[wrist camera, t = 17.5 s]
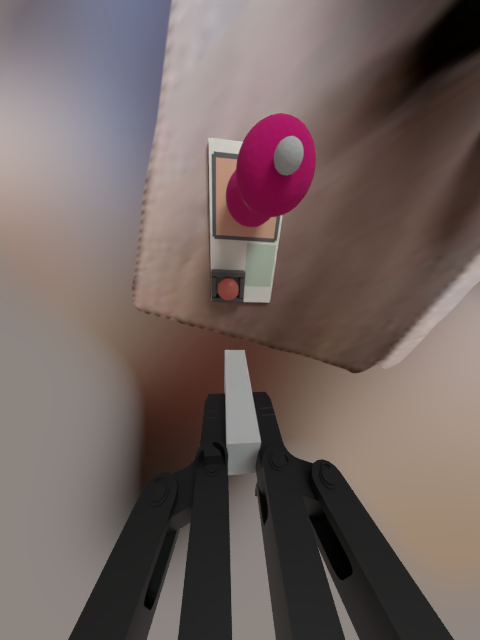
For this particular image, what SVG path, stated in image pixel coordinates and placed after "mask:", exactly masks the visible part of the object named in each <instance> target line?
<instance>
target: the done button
mask: <svg viewBox="0 0 480 640" xmlns="http://www.w3.org/2000/svg"><path fill="white" fill-rule="evenodd" d="M238 292H239V289H238V285H237V282H236V281H235V279H233V278H231V277H225V278H223V279H221V280H220V282H219V284H218V294H219V296H220V297H221V298H222V299H224V300H232V299H234V298H235V297H236V296H237V295H238Z"/></svg>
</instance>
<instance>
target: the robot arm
mask: <svg viewBox="0 0 480 640" xmlns="http://www.w3.org/2000/svg"><path fill="white" fill-rule="evenodd" d="M224 372H225V373H224V390H225V391H224V394H209V395H208V397H207V399H206V401H205V405H204V416H203V424H202V434H201V444H200V447H199V449H198V451H197V454H196V459H195V460H194V461H193V462H192V463H191V464H190V465H189V466H187V467H186V468H184V469H182V470H180V471H178V472H175V473H173V474H171V473H169V472H161V473H159V474H156V475H154V476H153V477H152V478H151V479H150V480H149V481H148V482H147V484H146V485H145V486H144V488H143V490H142V492H141V494H140V496H139V498H138V500H137V502H136V504H135V506H134V508H133V510H132V512H131V514H130V516H129V518H128V520H127V522H126V524H125V526H124V528H123V530H122V532H121V534H120V536H119V538H118V540H117V542H116V544H115V547H114V548H113V550H112V552H111V554H110V556H109V558H108V560H107V563H106V564H105V566H104V569H103V570H102V572H101V575H100V577H99V579H98V581H97V583H96V585H95V587H94V589H93V591H92V593H91V595H90V597H89V599H88V601H87V603H86V605H85V607H84V609H83V611H82V613H81V615H80V617H79V619H78V621H77V623H76V625H75V627H74V629H73V631H72V633H71V635H70V637H69V639H68V640H147V636H148V633H149V630H150V626H151V623H152V619H153V616H154V613H155V610H156V606H157V603H158V600H159V597H160V593H161V590H162V587H163V583H164V580H165V576H166V573H167V570H168V567H169V563H170V560H171V557H172V554H173V550H174V547H175V544H176V540H177V537H178V534H179V530H180V528H182V527H183V526H185V525H187V524H188V523H190V522H191V524H190V533H189V543H188V551H187V561H186V570H185V579H184V588H183V598H182V607H181V616H180V626H179V635H178V640H232V617H231V576H230V537H229V535H230V533H229V491H228V475H235V474H247V473H255V470H256V473H257V484H256V489H255V496H258V503H259V511H260V519H261V526H262V532H263V541H264V550H265V557H266V565H267V573H268V581H269V588H270V596H271V603H272V612H273V620H274V627H275V634H276V640H345V637H344V634H343V631H342V627H341V624H340V621H339V617H338V614H337V610H336V607H335V604H334V600H333V597H332V594H331V590H330V587H329V583H328V580H327V577H326V573H325V570H324V567H323V563H322V560H321V557H320V553H321V555H322V557H323V559H324V562H325V564H326V566H327V568H328V570H329V573H330V575H331V577H332V579H333V582H334V584H335V586H336V588H337V590H338V593H339V595H340V597H341V599H342V602H343V604H344V606H345V608H346V610H347V613H348V615H349V617H350V619H351V621H352V624H353V626H354V628H355V630H356V633H357V635H358V637H359V639H360V640H454V639H453V637H452V636H451V635H450V633H449V632H448V630H447V629H446V627H445V626H444V624H443V623H442V622H441V620H440V618H439V617H438V615H437V614H436V612H435V611H434V610H433V608H432V607H431V605H430V604H429V602H428V601H427V599H426V598H425V596H424V595H423V594H422V592H421V591H420V589H419V587H418V586H417V584H416V583H415V582H414V580H413V579H412V577H411V576H410V574H409V573H408V571H407V570H406V568H405V567H404V565H403V564H402V562H401V561H400V560H399V558H398V557H397V555H396V554H395V552H394V551H393V549H392V548H391V546H390V545H389V543H388V542H387V541H386V539H385V537H384V536H383V534H382V533H381V532H380V530H379V529H378V527H377V526H376V524H375V523H374V521H373V520H372V518H371V517H370V515H369V514H368V512H367V511H366V509H365V508H364V507H363V505H362V503H361V502H360V501H359V499H358V498H357V496H356V495H355V493H354V492H353V490H352V489H351V487H350V486H349V484H348V483H347V481H346V480H345V478H344V477H343V476H342V474H341V473H340V471H339V470H338V469H337V468H336V467H335V466H334V465H333V464H331V463H330V462H329V461H326V460H317V461H316V462H314V463H310V462H307V461H304V460H301V459H298V458H296V457H294V456H293V455H291V454H290V453H289V452H288V451H287V449H286V448H285V446H284V444H283V441H282V438H281V434H280V431H279V427H278V424H277V420H276V416H275V413H274V410H273V406H272V402H271V399H270V397H269V396H268V395H267V394H266V392H252V389H251V384H250V378H249V373H248V367H247V362H246V356H245V350H225V368H224ZM317 546H318V547H317ZM318 548H319V550H320V553H319V550H318Z"/></svg>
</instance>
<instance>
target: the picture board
mask: <svg viewBox="0 0 480 640" xmlns="http://www.w3.org/2000/svg"><path fill="white" fill-rule="evenodd" d="M242 143H243V142H241V141H233V140H225V139H216V138H209V194H210V253H211V301H212V302H237V303H243V302H269V303H270V298H271V291H272V284H273V277H274V270H275V264H276V257H277V250H278V243H279V236H280V230H281V223H282V216H283V215H280V216H277V217H271V218H270V219H269V220H268V221H267V222H265V223H264V224H262V225H260V226H257V227H246V226H243V225H241V224H239V223H238V222H237V221H235V220H234V219H233V217H232V216H231V214H230V212H229V210H228V207H227V203H226V189H227V185H228V182H229V180H230V177H231V176H232V174H233V173H234V171H235V170H236V164H237V158H238V153H239V151H240V148H241V145H242ZM225 277H231V278H233V279H235V281H236V282H237V285H238V289H239V292H238V295H237V296H236V297H235V298H234V299H232V300H224V299H222V298H221V297H220V296H219V294H218V284H219V282H220V280H221V279H223V278H225Z"/></svg>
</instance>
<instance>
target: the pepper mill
mask: <svg viewBox="0 0 480 640" xmlns="http://www.w3.org/2000/svg"><path fill="white" fill-rule="evenodd" d="M315 161H316V157H315V147H314V142H313V139H312V137H311V134H310V132H309V131H308V129H307V127H306V126H305V124H303V123H302V122H301V121H300V120H299V119H297V118H296V117H294V116H292V115H288V114H282V113H279V114H274V115H270V116H268V117H266V118H264V119H262V120H261V121H259V122H258V123H257V124H256V125H255V126H254V127H253V128H252V129H251V130H250V131H249V133H248V134H247V136H246V137H245V139H244V141H243V143H242V145H241V148H240V151H239V153H238V158H237V164H236V170H235V171H234V173H233V174H232V176H231V177H230V180H229V182H228V185H227V189H226V203H227V207H228V210H229V212H230V214H231V216H232V217H233V219H234V220H235V221H237V222H238V223H239V224H241V225H243V226H246V227H257V226H260V225H262V224H264V223H265V222H267V221H268V220H269V219H270V218H271V217H277V216H280V215H284V214H285V213H287V212H289V211H291V210H292V209H293V208H295V207H296V206H297V205H298V204H299V203H300V201H301V200H302V199H303V198H304V196H305V195H306V193H307V191H308V189H309V187H310V185H311V182H312V179H313V176H314V171H315Z"/></svg>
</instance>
